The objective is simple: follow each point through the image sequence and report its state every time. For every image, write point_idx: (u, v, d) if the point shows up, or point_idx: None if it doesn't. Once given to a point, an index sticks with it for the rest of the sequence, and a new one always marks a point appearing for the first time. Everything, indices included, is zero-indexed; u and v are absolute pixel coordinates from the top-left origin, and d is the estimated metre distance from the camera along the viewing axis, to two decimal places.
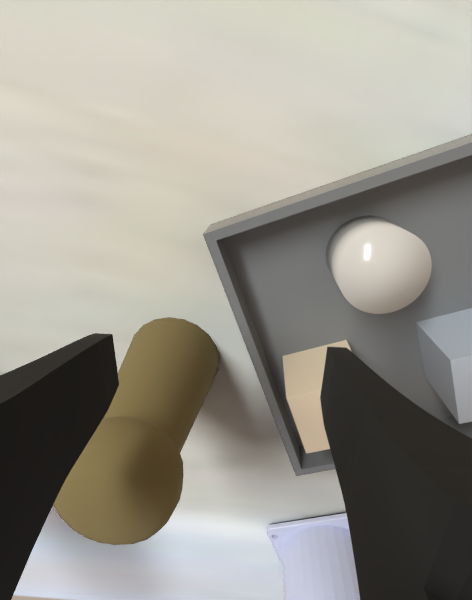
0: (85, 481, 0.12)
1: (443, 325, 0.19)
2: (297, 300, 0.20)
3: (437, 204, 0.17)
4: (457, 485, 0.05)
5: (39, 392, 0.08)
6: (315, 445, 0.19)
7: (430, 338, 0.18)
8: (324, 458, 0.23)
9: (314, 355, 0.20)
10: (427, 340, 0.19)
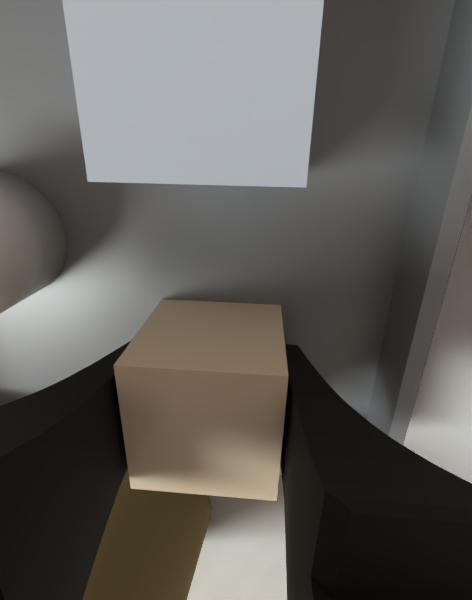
0: None
1: None
2: (75, 348, 0.13)
3: None
4: (339, 476, 0.05)
5: (103, 397, 0.08)
6: (261, 482, 0.09)
7: None
8: (383, 423, 0.11)
9: None
10: None
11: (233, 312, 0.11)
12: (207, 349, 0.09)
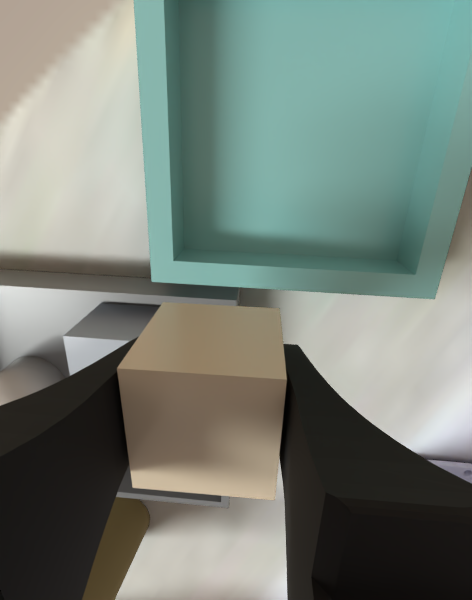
0: None
1: None
2: None
3: (4, 327, 0.21)
4: (339, 476, 0.05)
5: (103, 396, 0.08)
6: (260, 482, 0.09)
7: None
8: None
9: None
10: None
11: (232, 316, 0.11)
12: (208, 352, 0.09)
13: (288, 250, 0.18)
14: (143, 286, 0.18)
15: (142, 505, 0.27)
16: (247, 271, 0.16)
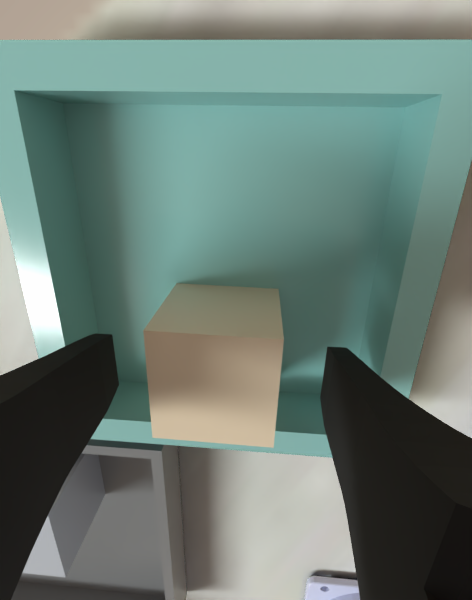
0: None
1: None
2: None
3: None
4: (457, 485, 0.05)
5: (39, 392, 0.08)
6: (261, 430, 0.11)
7: None
8: None
9: None
10: None
11: (237, 294, 0.13)
12: (218, 320, 0.10)
13: None
14: None
15: None
16: None
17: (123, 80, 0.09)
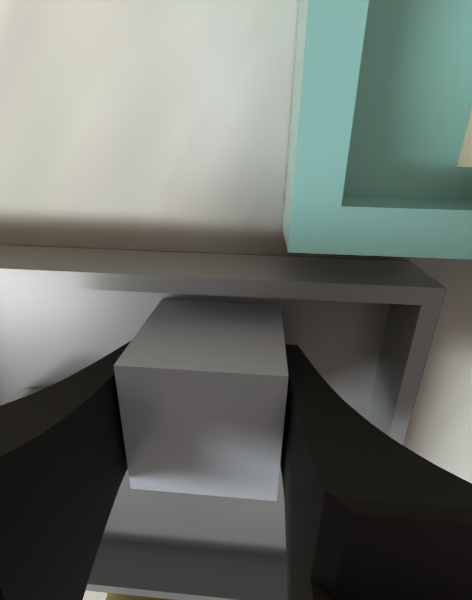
0: None
1: None
2: None
3: None
4: (339, 476, 0.05)
5: (103, 396, 0.08)
6: None
7: None
8: None
9: None
10: None
11: None
12: None
13: None
14: (246, 266, 0.10)
15: None
16: None
17: None
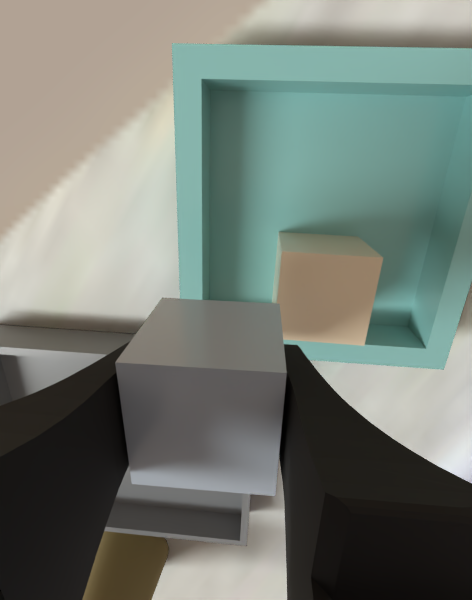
0: None
1: None
2: None
3: (37, 379, 0.22)
4: (339, 476, 0.05)
5: (103, 397, 0.08)
6: (357, 331, 0.15)
7: None
8: None
9: (275, 275, 0.17)
10: None
11: (330, 238, 0.17)
12: (329, 248, 0.14)
13: None
14: None
15: (162, 538, 0.28)
16: None
17: (281, 73, 0.13)
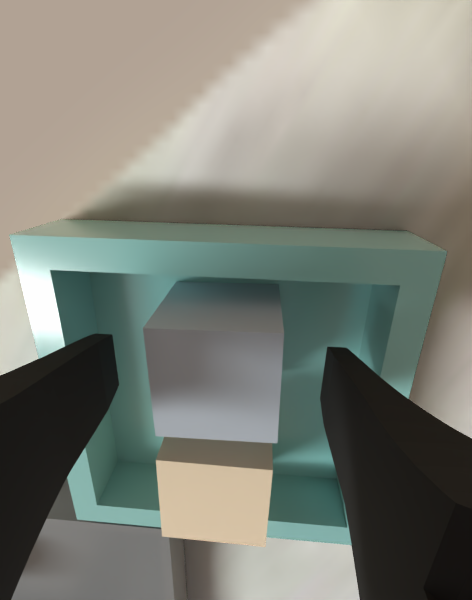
0: None
1: None
2: (21, 599, 0.23)
3: None
4: (457, 485, 0.05)
5: (39, 392, 0.08)
6: (254, 534, 0.13)
7: None
8: None
9: None
10: None
11: None
12: (218, 443, 0.12)
13: None
14: None
15: None
16: None
17: (140, 266, 0.11)
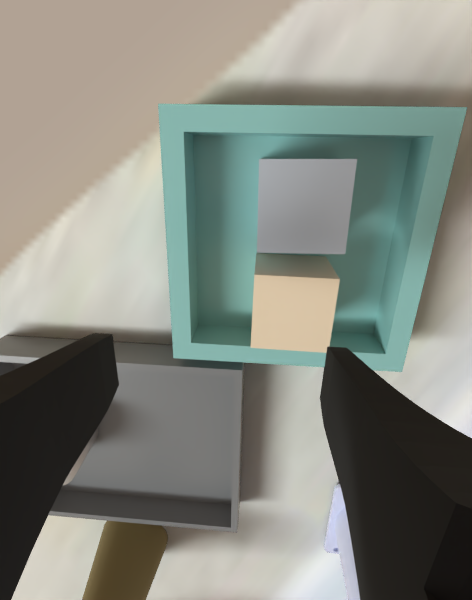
0: None
1: None
2: (100, 468, 0.28)
3: None
4: (457, 485, 0.05)
5: (39, 392, 0.08)
6: (321, 341, 0.17)
7: None
8: None
9: None
10: None
11: (300, 258, 0.19)
12: (296, 270, 0.17)
13: None
14: (164, 355, 0.22)
15: (161, 527, 0.31)
16: (251, 351, 0.20)
17: (250, 126, 0.15)
